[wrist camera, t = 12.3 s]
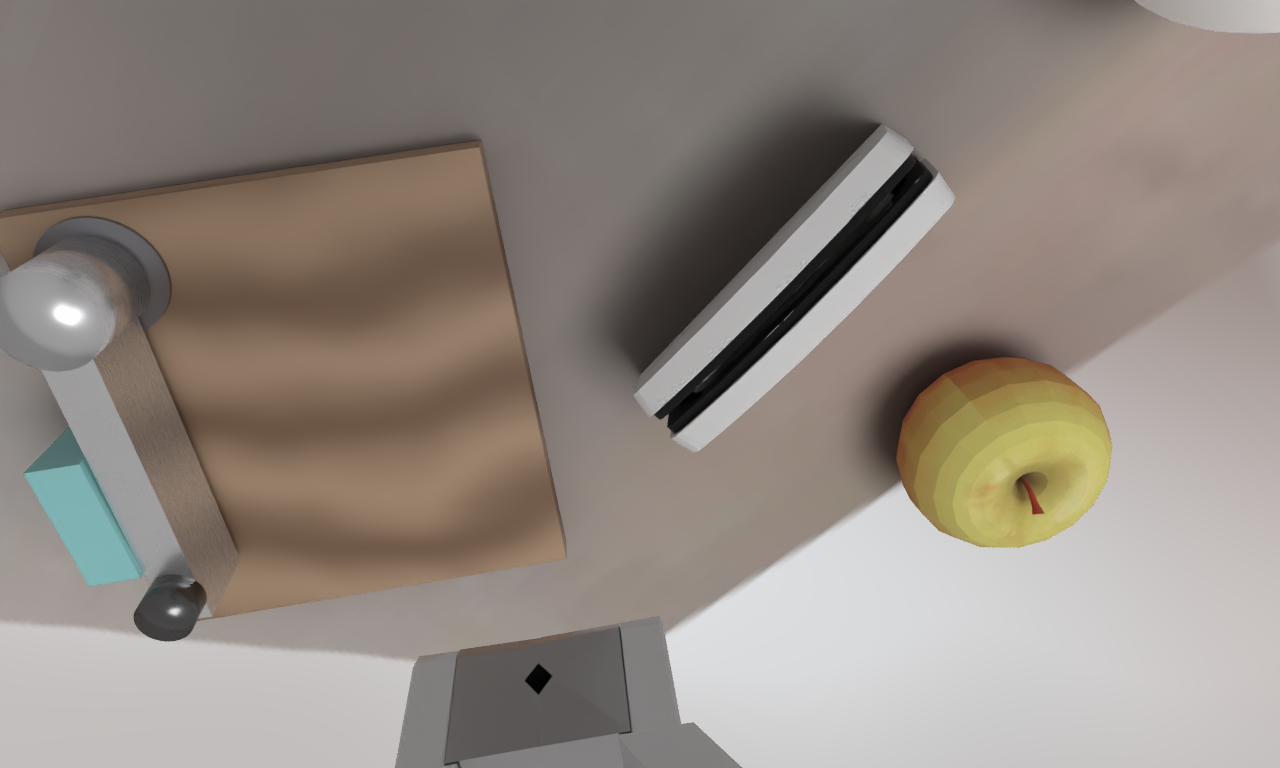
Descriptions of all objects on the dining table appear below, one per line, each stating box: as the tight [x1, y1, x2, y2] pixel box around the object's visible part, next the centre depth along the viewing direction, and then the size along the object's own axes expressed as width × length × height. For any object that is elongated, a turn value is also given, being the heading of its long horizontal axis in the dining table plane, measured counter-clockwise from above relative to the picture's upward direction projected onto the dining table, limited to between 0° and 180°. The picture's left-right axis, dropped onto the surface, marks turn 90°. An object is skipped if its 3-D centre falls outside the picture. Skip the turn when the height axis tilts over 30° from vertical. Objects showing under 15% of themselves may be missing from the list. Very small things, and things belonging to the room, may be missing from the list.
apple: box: [896, 357, 1112, 547], centre depth 41 cm, size 10×10×8 cm
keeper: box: [23, 427, 143, 586], centre depth 37 cm, size 6×2×5 cm, turn 7°
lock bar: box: [0, 236, 240, 641], centre depth 35 cm, size 17×4×6 cm, turn 6°
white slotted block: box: [633, 124, 955, 453], centre depth 36 cm, size 17×5×10 cm, turn 138°
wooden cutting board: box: [0, 140, 567, 621], centre depth 39 cm, size 22×20×2 cm
